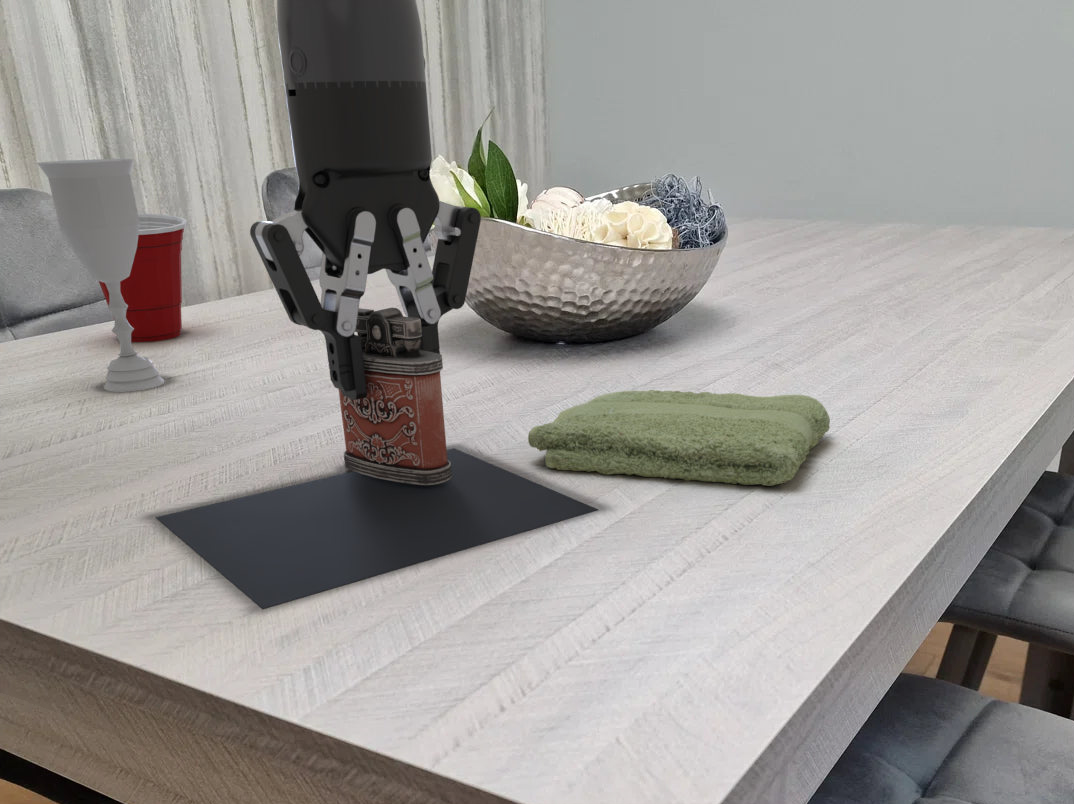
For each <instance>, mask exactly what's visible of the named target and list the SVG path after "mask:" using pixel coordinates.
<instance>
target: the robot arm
mask: <svg viewBox="0 0 1074 804" xmlns="http://www.w3.org/2000/svg"><path fill="white" fill-rule="evenodd" d="M419 13H420V12H419V9H418V5H417V0H276V24H277V26H276V27H277V38H278V46H279V52H280V60H281V61H280V62H281V68H282V76H283V83H284V85H283V86H284V91H285V99H286V107H287V113H288V114H287V115H288V122H289V128H290V129H289V130H290V136H291V145H292V152H293V159H294V160H293V161H294V166H295V171H296V173H297V178H298V191H297V195H296V197H295V200H294V204H293V210H292V211H289V212H287V213H285V214H283V215H281V216H278V217H276V218H274V219H272V220H270V221H262V220H257V221H255V222H253V223H252V225H251V226H250V229H249V235H250V237H251V240H252V242H253V244H254V246H255V248H256V250H257V253H258V255H259V257H260V259H261V261H262V264H263V265H264V267H265V270H266V272H267V275H268V276H269V278H270V280H271V283H272V284H273V287H274V288H275V291H276V293H277V295H278V297H279V299H280V302H281V303H282V306H283V308H284V310H285V312H286V314H287V317H288V318H289V321H290V322H291V323H293V324H294V325H297V326H302V327H303V326H304V327H306V328H308V329H310V330H313V331H320V332H321V333H322V334H323V336H324V340H325V347H326V354H327V355H326V356H327V362H328V369H329V379H330V381H331V383H332V385H333V388H335V389H337V390H339V389H340V390H341V393H342V394H343V396H345V397H348V398H350V399H353V400H357V399H363V398H366V396H367V387H366V379H365V370H364V361H363V352H362V344H361V336H358V334H355V333H356V332H355V330H356V326H357V318H358V310H359V308H360V301H361V298H362V297H363V296H364V294H365V292H366V287H367V279H368V275H373V274H375V273H376V272H379V271H381V270H385V272H386V275H387V278H388V280H389V281H390V283H391V284H392V285H393V286H394V288H395V291H396V294H397V296H398V299H399V302H400V305H401V308H402V310H403V313H404V315H405V317H412V318H420V320H421V331H422V336H421V337H420V341H421V342H420V346H419V350H424V351H429V352H433V353H438V354H441V350H440V337H439V321H440V319H441V318H442V317H443V316H444V315H446V314H447V313H449V312H450V311H453V309H454V310H459V309H461V308H462V307H463V306H464V305H465V302H466V299H467V293H468V288H469V282H470V278H471V273H472V267H473V261H474V258H475V252H476V247H477V241H478V236H479V233H480V232H479V231H480V225H481V222H482V216H481V212H480V211H479V210H478V209H477V208H476V207H471V206H461V205H453V204H451V203H448V202H445V201H441V200H440V198H439V195H438V192H437V191H436V189H435V188H434V185H433V182H432V179H431V173H430V172H431V166H432V161H433V160H432V159H433V154H432V142H431V141H432V140H431V130H430V129H431V128H430V118H429V104H428V93H427V81H426V60H425V54H424V44H423V43H424V42H423V31H422V25H421V24H422V23H421V20H420V14H419ZM433 225H434V227H433ZM432 228H433V231H434V234H435V236H436V238H438V239H437V243H436V249H435V253H434V259H433V266H432V268H431V265H430V261H429V259H428V256H427V253H426V250H425V246H424V243H425V241H426V239H427V236H428V235H429V233H430V231H431V229H432ZM304 232H305V233H306V234H307V235H308V237H310V239H311V240H312V242H314V244H315V245H316V246H317V247H318V248H319V250H320V251H321V252H322V253H321V263H320V272H319V287H320V289H321V294H320V299H319V297H318V295H317V293H316V290H315V289H314V286H313V284H312V282H311V279H310V277H309V274H308V272H307V270H306V268H305V266H304V264H303V260H302V259H301V255H302V254H303V253H304V250H305V245H304V241H303V235H304Z"/></svg>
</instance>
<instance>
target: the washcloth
mask: <svg viewBox="0 0 1074 804" xmlns="http://www.w3.org/2000/svg"><path fill="white" fill-rule="evenodd" d="M829 415H830V414H829V413H828V411H827V409H826V408H825V406H824V405H823V403H822V402H820V401H819V400H818V399H816V398H814V397H812V396H810V395H805V394H781V395H773V396H772V395H771V396H755V395H748V394H743V393H742V394H741V393H735V392H729V393H727V392H726V393H715V392H714V393H712V392H709V391H701V392H698V393H697V392H693V391H684V392H683V391H680V390H674V391H672V390H663V391H662V390H655V389H649V390H622V391H621V390H620V391H615V392H609V393H604V394H601V395H598V396H596V397H594V398H592V399H591V400H588V401H587V402H584V403H580V404H576V405H573V406H572V407H568V408H566V409H564V410H561V411H560V412H559V413H558V415H557V417H556V418H555V419H554V420H553V421H552V422H548V423H543V424H542V425H536V426H533V427H532V428H531V429H530V430H529V431H528V436H527V441H528V442H527V443H528V445H529V446H530V447H531V448H535V449H537V450H538V451H539V452H542V451H545V457H544V458H545V459H544V460H545V466H546V467H547V468H549V469H556V470H557V471H559V470H560V471H572V472H584V471H585V472H588V473H590V472H597V473H599V474H603V475H627V476H630V475H635V476H639V477H644V478H660V479H661V478H664V479H665V480H666V479H667V478H668V479H678V480H679V479H680V480H684V481H686V482H687V481H688V482H689V481H699V482H712V483H725V484H732V485H737V484H739V485H743V486H748V485H749V486H751V485H753V486H755V485H762V486H767V487H771V486H776V485H780V484H783V483H784V484H786V483H787V482H789V481H792V480H793V478H795V475H796V474H797V472H798V471H799V469H800V466H801V465H802V464H803V463H804V462H805V461H806V459H807V455H809V454H810V450H811V449H813V448H814V447H815V446H816V445H817V444H819V440H820V439H823V438H824V436H825V435H826V433H828V432H829V430H830V428H831V427H830V424H831V423H830V422H831V421H830V420H831V418H830V416H829Z"/></svg>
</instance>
